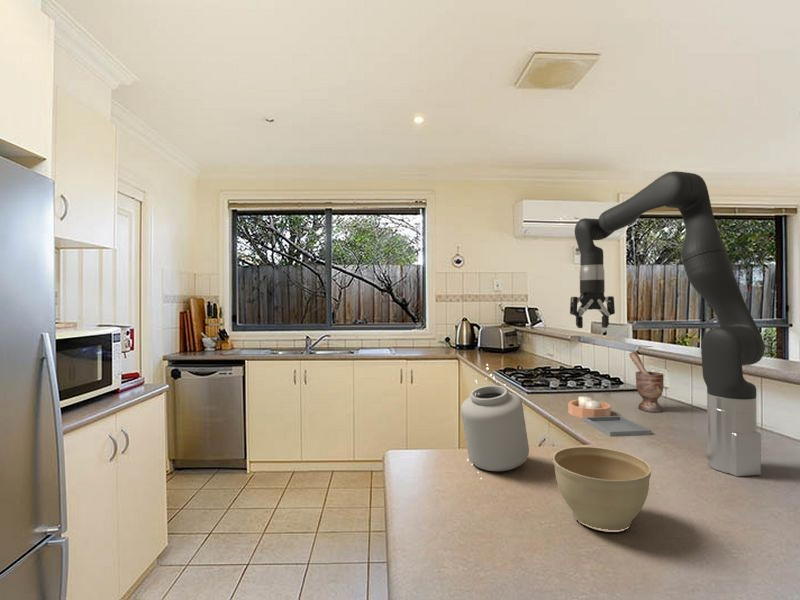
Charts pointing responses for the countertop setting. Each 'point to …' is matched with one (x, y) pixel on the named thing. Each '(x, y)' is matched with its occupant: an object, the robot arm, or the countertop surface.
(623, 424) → the tray
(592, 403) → the cream rounded piece
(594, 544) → the countertop surface
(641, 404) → the mortar and pestle
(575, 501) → the planter bowl
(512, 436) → the jar
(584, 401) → the cream rounded lump
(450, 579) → the countertop surface
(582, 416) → the bowl
